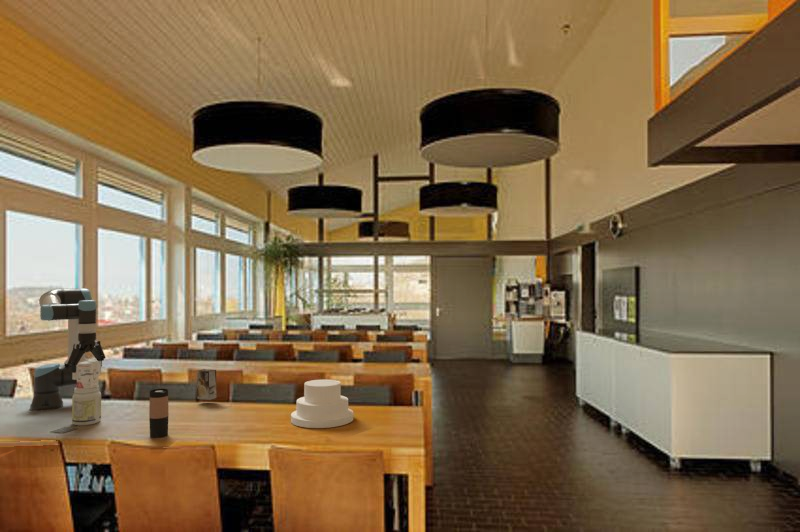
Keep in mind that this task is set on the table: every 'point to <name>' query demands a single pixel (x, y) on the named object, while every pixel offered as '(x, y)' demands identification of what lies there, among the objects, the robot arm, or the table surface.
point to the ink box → (87, 374)
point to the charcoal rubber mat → (64, 430)
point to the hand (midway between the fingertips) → (87, 376)
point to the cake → (322, 406)
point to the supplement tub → (86, 406)
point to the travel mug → (158, 413)
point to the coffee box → (206, 384)
